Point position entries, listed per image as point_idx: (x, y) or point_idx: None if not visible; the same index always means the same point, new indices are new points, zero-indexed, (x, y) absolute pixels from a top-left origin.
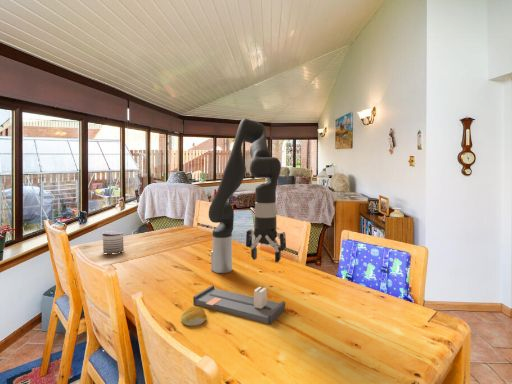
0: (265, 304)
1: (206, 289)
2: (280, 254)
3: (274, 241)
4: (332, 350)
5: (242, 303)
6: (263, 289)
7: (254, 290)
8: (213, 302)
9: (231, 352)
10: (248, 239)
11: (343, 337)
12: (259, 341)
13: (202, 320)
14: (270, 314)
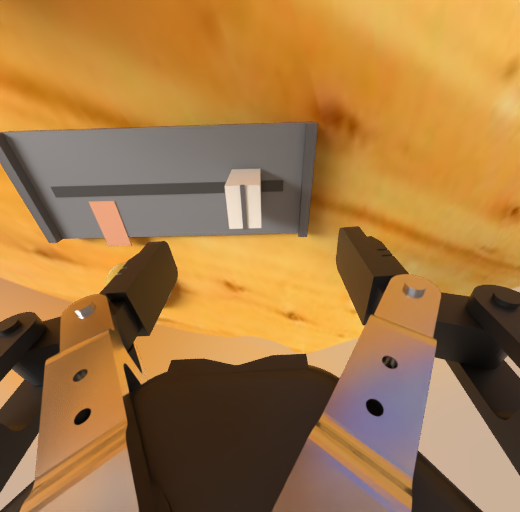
0: (260, 177)
1: (16, 182)
2: (398, 267)
3: (378, 371)
4: (451, 252)
5: (187, 194)
6: (255, 203)
7: (230, 227)
8: (118, 232)
9: (276, 323)
10: (11, 459)
11: (490, 196)
12: (305, 286)
13: (170, 293)
14: (303, 231)
